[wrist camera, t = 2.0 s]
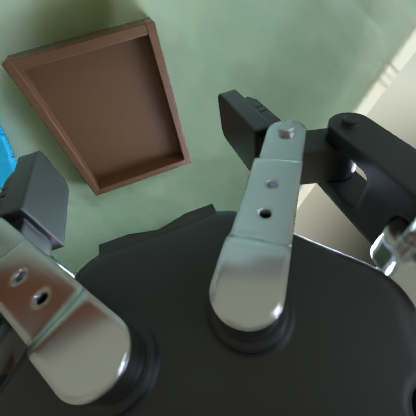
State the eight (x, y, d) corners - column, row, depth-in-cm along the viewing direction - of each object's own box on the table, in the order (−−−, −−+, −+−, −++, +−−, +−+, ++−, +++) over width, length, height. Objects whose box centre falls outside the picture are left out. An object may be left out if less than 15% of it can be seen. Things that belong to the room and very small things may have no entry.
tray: (95, 183, 33) (96, 196, 31) (7, 55, 22) (0, 63, 20) (186, 152, 35) (191, 162, 33) (149, 17, 23) (154, 21, 21)
